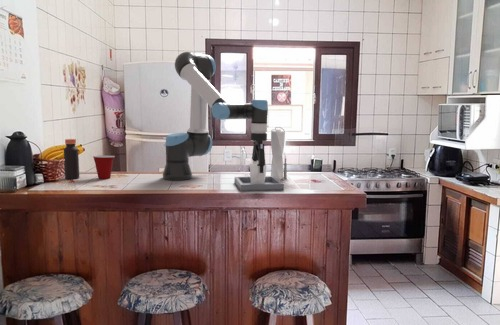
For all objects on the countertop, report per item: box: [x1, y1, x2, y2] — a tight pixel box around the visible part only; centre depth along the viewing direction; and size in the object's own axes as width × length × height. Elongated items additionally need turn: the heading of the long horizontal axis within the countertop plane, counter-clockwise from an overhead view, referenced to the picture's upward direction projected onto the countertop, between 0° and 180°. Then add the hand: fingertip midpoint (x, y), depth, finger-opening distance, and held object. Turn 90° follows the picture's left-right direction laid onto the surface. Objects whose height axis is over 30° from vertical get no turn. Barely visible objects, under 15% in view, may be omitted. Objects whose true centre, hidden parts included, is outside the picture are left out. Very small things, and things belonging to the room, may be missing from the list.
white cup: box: [249, 162, 267, 184], centre depth 196 cm, size 8×8×10 cm
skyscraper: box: [270, 126, 288, 182], centre depth 215 cm, size 8×8×28 cm
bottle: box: [63, 138, 80, 180], centre depth 209 cm, size 7×7×20 cm
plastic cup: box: [92, 154, 116, 180], centre depth 211 cm, size 11×11×12 cm
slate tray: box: [234, 175, 285, 192], centre depth 196 cm, size 20×20×3 cm
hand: (257, 176), depth 196 cm, fingers open, 13 cm apart
